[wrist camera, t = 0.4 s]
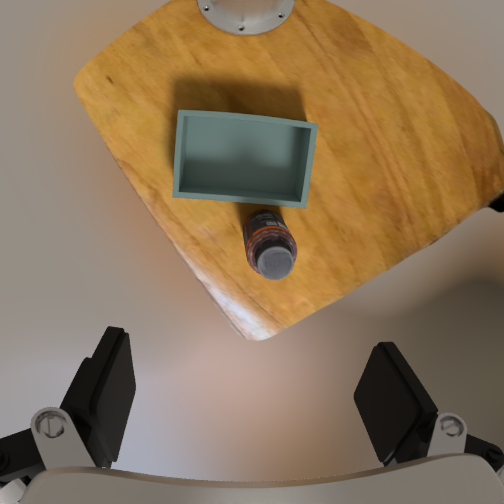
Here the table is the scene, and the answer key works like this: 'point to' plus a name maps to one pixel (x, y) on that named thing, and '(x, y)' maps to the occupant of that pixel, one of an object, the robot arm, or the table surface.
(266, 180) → the box
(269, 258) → the supplement bottle
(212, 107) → the table surface
